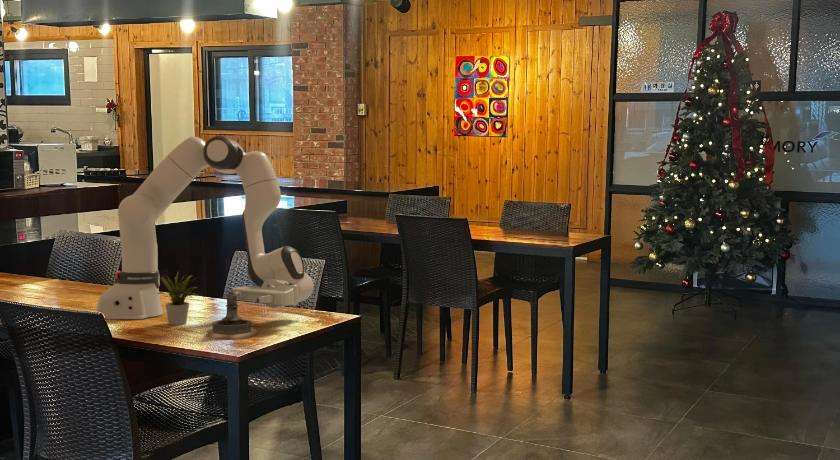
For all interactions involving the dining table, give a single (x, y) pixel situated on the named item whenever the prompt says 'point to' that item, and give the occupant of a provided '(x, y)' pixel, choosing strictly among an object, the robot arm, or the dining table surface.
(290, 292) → the robot arm
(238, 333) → the collar holder
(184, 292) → the house plant
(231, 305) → the dark chess piece
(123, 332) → the dining table surface
